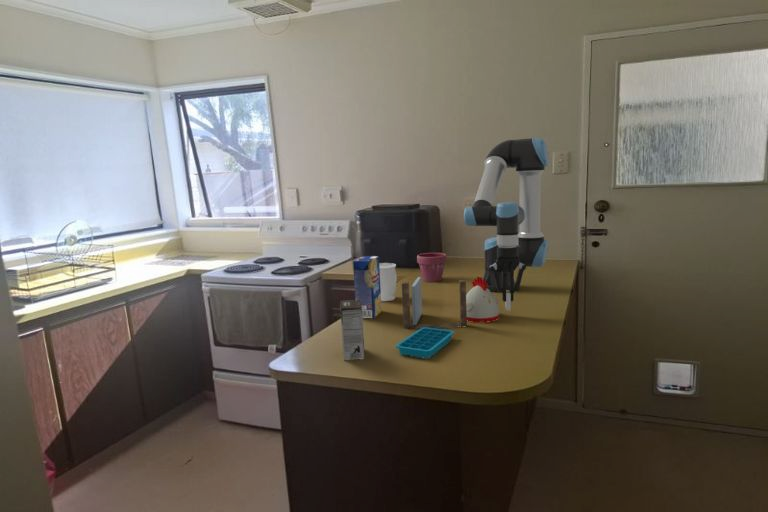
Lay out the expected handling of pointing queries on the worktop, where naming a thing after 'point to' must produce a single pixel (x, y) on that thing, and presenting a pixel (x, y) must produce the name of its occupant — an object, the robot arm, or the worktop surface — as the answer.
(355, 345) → the coffee box
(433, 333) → the ice cube tray
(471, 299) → the kitchen timer
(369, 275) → the blue cardboard box
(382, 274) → the jar
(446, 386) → the worktop surface
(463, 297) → the door frame
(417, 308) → the door
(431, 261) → the plant pot
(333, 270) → the worktop surface
